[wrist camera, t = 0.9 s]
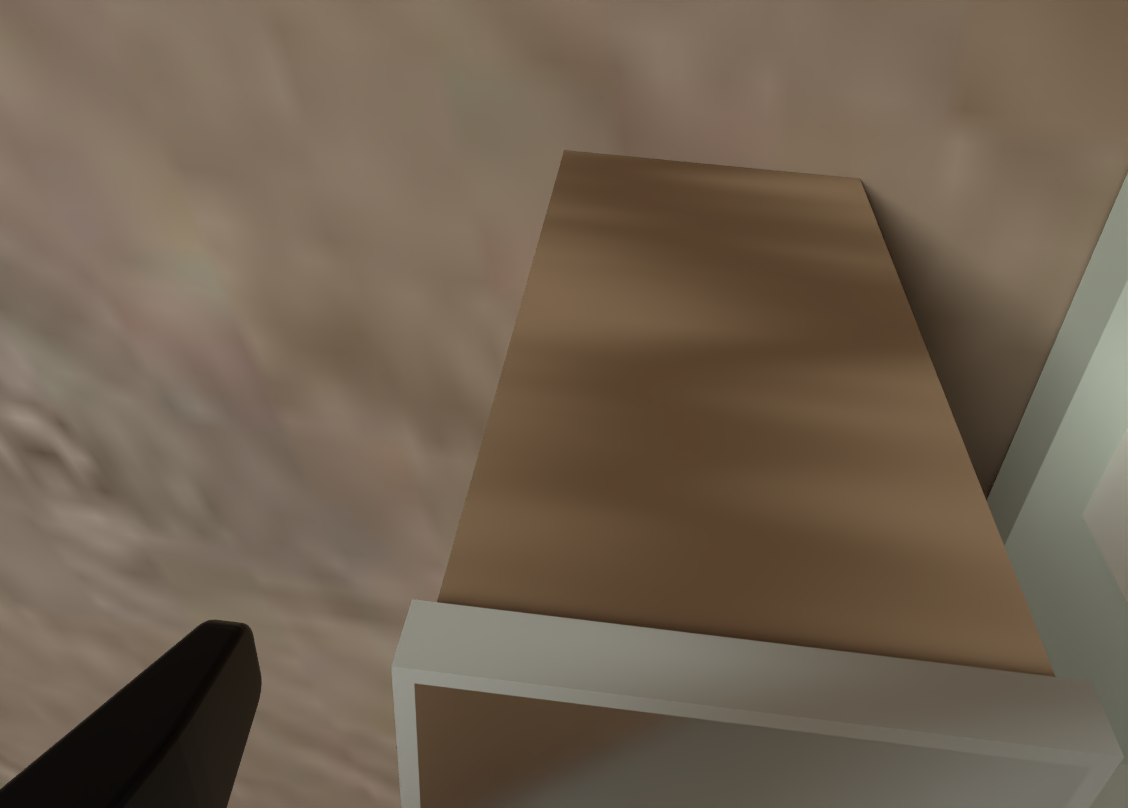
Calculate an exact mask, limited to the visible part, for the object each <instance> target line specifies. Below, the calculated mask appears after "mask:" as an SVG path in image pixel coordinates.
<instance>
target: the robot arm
mask: <svg viewBox="0 0 1128 808" xmlns="http://www.w3.org/2000/svg"><path fill="white" fill-rule="evenodd" d="M260 693H261V672H260V667H259V662H258V657H257V652H256V647H255V642H254V637H253V633H252V630H251V629H250V627H249V626H248V625H247V624H244V623H238V622H230V621H222V620H208V621H206V622H204V623H202V624H200V625H199V626H197V627H196V628H195V629H194V630H193V631H191V632H190V633H189V634H188V635H187V636H185V637H184V638H183V639H182V640H181V641H179V642H178V643H177V644H176V645H174V646H173V647H172V648H171V649H170V650H168V651H167V652H166V653H165V654H164V655H162V656H161V657H160V658H159V659H157V660H156V661H155V662H154V663H153V664H151V665H150V666H149V667H148V668H147V669H145V670H144V671H143V672H142V673H141V674H139V675H138V676H137V677H136V678H134V679H133V680H132V681H131V682H130V683H128V684H127V685H126V686H125V687H124V688H122V689H121V690H120V691H119V692H117V693H116V694H115V695H114V696H113V697H111V698H110V699H109V700H108V701H107V702H105V703H104V704H103V705H102V706H101V707H99V708H98V709H97V710H96V711H94V712H93V713H92V714H91V715H90V716H88V717H87V718H86V719H85V720H84V721H82V722H81V723H80V724H79V725H78V726H76V727H75V728H74V729H73V730H71V731H70V732H69V733H68V734H67V735H65V736H64V737H63V738H62V739H61V740H59V741H58V742H57V743H56V744H54V745H53V746H52V747H51V748H50V749H48V750H47V751H46V752H45V753H44V754H42V755H41V756H40V757H39V758H38V759H36V760H35V761H34V762H33V763H31V764H30V765H29V766H28V767H27V768H25V769H24V770H23V771H22V772H21V773H19V774H18V775H17V776H16V777H14V778H13V779H12V780H11V781H10V782H8V783H7V784H6V785H5V786H4V787H2V788H1V789H0V808H227V805H228V801H229V798H230V795H231V791H232V788H233V785H234V782H235V778H236V775H237V772H238V768H239V765H240V762H241V758H242V755H243V752H244V749H245V745H246V742H247V739H248V735H249V732H250V729H251V725H252V722H253V719H254V715H255V712H256V709H257V706H258V702H259V698H260Z"/></svg>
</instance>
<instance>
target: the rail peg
mask: <svg viewBox="0 0 1128 808" xmlns="http://www.w3.org/2000/svg"><path fill="white" fill-rule="evenodd" d="M391 668H392V682H393V696H394V710H395V724H396V738H397V752H398V766H399V781H400V795H401V808H1089V807H1090V806H1091V804H1092V803H1093V801H1094V800H1095V799H1096V797H1097V796H1098V794H1099V793H1100V791H1101V790H1102V788H1103V787H1104V785H1105V784H1106V783H1107V781H1108V780H1109V778H1110V777H1111V775H1112V774H1113V772H1114V771H1115V770H1116V768H1117V767H1118V765H1119V764H1120V762H1121V761H1122V759H1123V758H1124V756H1123V753H1122V751H1121V749H1120V746H1119V744H1118V742H1117V739H1116V737H1115V735H1114V732H1113V730H1112V728H1111V725H1110V723H1109V721H1108V718H1107V716H1106V714H1105V711H1104V709H1103V707H1102V704H1101V702H1100V700H1099V698H1098V695H1097V693H1096V691H1095V688H1094V686H1093V684H1092V681H1085V680H1077V679H1069V678H1060V677H1055V674H1054V671H1053V669H1052V666H1051V664H1050V661H1049V659H1048V656H1047V654H1046V651H1045V649H1044V646H1043V643H1042V641H1041V638H1040V636H1039V633H1038V631H1037V628H1036V626H1035V623H1034V621H1033V618H1032V615H1031V613H1030V610H1029V608H1028V605H1027V603H1026V600H1025V598H1024V595H1023V593H1022V590H1021V587H1020V585H1019V582H1018V580H1017V577H1016V575H1015V572H1014V570H1013V567H1012V565H1011V562H1010V559H1009V557H1008V554H1007V552H1006V549H1005V547H1004V544H1003V542H1002V539H1001V537H1000V534H999V531H998V529H997V526H996V524H995V521H994V519H993V516H992V514H991V511H990V509H989V506H988V503H987V501H986V498H985V496H984V493H983V491H982V488H981V486H980V483H979V481H978V478H977V475H976V473H975V470H974V468H973V465H972V463H971V460H970V458H969V455H968V453H967V450H966V447H965V445H964V442H963V440H962V437H961V435H960V432H959V430H958V427H957V425H956V422H955V419H954V417H953V414H952V412H951V409H950V407H949V404H948V402H947V399H946V397H945V394H944V391H943V389H942V386H941V384H940V381H939V379H938V376H937V374H936V371H935V369H934V366H933V363H932V361H931V358H930V356H929V353H928V351H927V348H926V346H925V343H924V341H923V338H922V335H921V333H920V330H919V328H918V325H917V323H916V320H915V318H914V315H913V313H912V310H911V307H910V305H909V302H908V300H907V297H906V295H905V292H904V290H903V287H902V285H901V282H900V280H899V277H898V274H897V272H896V269H895V267H894V264H893V262H892V259H891V257H890V254H889V252H888V249H887V246H886V244H885V241H884V239H883V236H882V234H881V231H880V229H879V226H878V224H877V221H876V218H875V216H874V213H873V211H872V208H871V206H870V203H869V201H868V198H867V196H866V193H865V190H864V188H863V185H862V183H861V180H860V179H855V178H844V177H834V176H824V175H813V174H803V173H793V172H783V171H772V170H762V169H752V168H741V167H731V166H721V165H710V164H700V163H690V162H679V161H669V160H659V159H649V158H638V157H628V156H618V155H607V154H597V153H587V152H576V151H566V150H564V153H563V157H562V160H561V164H560V167H559V171H558V174H557V178H556V182H555V185H554V189H553V192H552V196H551V199H550V203H549V206H548V210H547V213H546V217H545V221H544V224H543V228H542V231H541V235H540V238H539V242H538V245H537V249H536V253H535V256H534V260H533V263H532V267H531V270H530V274H529V277H528V281H527V285H526V288H525V292H524V295H523V299H522V302H521V306H520V309H519V313H518V316H517V320H516V324H515V327H514V331H513V334H512V338H511V341H510V345H509V348H508V352H507V356H506V359H505V363H504V366H503V370H502V373H501V377H500V380H499V384H498V388H497V391H496V395H495V398H494V402H493V405H492V409H491V412H490V416H489V419H488V423H487V427H486V430H485V434H484V437H483V441H482V444H481V448H480V451H479V455H478V459H477V462H476V466H475V469H474V473H473V476H472V480H471V483H470V487H469V491H468V494H467V498H466V501H465V505H464V508H463V512H462V515H461V519H460V522H459V526H458V530H457V533H456V537H455V540H454V544H453V547H452V551H451V554H450V558H449V562H448V565H447V569H446V572H445V576H444V579H443V583H442V586H441V590H440V594H439V597H438V601H437V602H430V601H421V600H413V599H412V602H411V605H410V608H409V611H408V615H407V618H406V621H405V624H404V627H403V631H402V634H401V637H400V640H399V643H398V647H397V650H396V653H395V656H394V660H393V663H392V666H391Z"/></svg>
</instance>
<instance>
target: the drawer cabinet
mask: <svg viewBox="0 0 1128 808" xmlns="http://www.w3.org/2000/svg"><path fill="white" fill-rule="evenodd" d="M987 503H988V506H989V509H990V511H991V514H992V516H993V519H994V521H995V524H996V526H997V529H998V531H999V534H1000V537H1001V539H1002V542H1003V544H1004V547H1005V549H1006V552H1007V554H1008V557H1009V559H1010V562H1011V565H1012V567H1013V570H1014V572H1015V575H1016V577H1017V580H1018V582H1019V585H1020V587H1021V590H1022V593H1023V595H1024V598H1025V600H1026V603H1027V605H1028V608H1029V610H1030V613H1031V615H1032V618H1033V621H1034V623H1035V626H1036V628H1037V631H1038V633H1039V636H1040V638H1041V641H1042V643H1043V646H1044V649H1045V651H1046V654H1047V656H1048V659H1049V661H1050V664H1051V666H1052V669H1053V671H1054V674H1055V677H1060V678H1069V679H1077V680H1085V681H1092V684H1093V686H1094V688H1095V691H1096V693H1097V695H1098V698H1099V700H1100V702H1101V704H1102V707H1103V709H1104V711H1105V714H1106V716H1107V718H1108V721H1109V723H1110V725H1111V728H1112V730H1113V732H1114V735H1115V737H1116V739H1117V742H1118V744H1119V746H1120V749H1121V751H1122V753H1123V756H1124V758H1123V759H1122V761H1121V762H1120V764H1119V765H1118V767H1117V768H1116V770H1115V771H1114V772H1113V774H1112V775H1111V777H1110V778H1109V780H1108V781H1107V783H1106V784H1105V785H1104V787H1103V788H1102V790H1101V791H1100V793H1099V794H1098V796H1097V797H1096V799H1095V800H1094V801H1093V803H1092V804H1091V806H1090V807H1089V808H1128V173H1127V175H1126V178H1125V180H1124V182H1123V185H1122V187H1121V189H1120V192H1119V194H1118V196H1117V199H1116V201H1115V203H1114V206H1113V208H1112V210H1111V213H1110V215H1109V217H1108V220H1107V222H1106V224H1105V227H1104V229H1103V231H1102V233H1101V236H1100V238H1099V240H1098V243H1097V245H1096V247H1095V250H1094V252H1093V254H1092V257H1091V259H1090V261H1089V264H1088V266H1087V268H1086V271H1085V273H1084V275H1083V278H1082V280H1081V282H1080V285H1079V287H1078V289H1077V292H1076V294H1075V296H1074V299H1073V301H1072V303H1071V306H1070V308H1069V310H1068V313H1067V315H1066V317H1065V319H1064V322H1063V324H1062V326H1061V329H1060V331H1059V333H1058V336H1057V338H1056V340H1055V343H1054V345H1053V347H1052V350H1051V352H1050V354H1049V357H1048V359H1047V361H1046V364H1045V366H1044V368H1043V371H1042V373H1041V375H1040V378H1039V380H1038V382H1037V385H1036V387H1035V389H1034V392H1033V394H1032V396H1031V398H1030V401H1029V403H1028V405H1027V408H1026V410H1025V412H1024V415H1023V417H1022V419H1021V422H1020V424H1019V426H1018V429H1017V431H1016V433H1015V436H1014V438H1013V440H1012V443H1011V445H1010V447H1009V450H1008V452H1007V454H1006V457H1005V459H1004V461H1003V464H1002V466H1001V468H1000V471H999V473H998V475H997V478H996V480H995V482H994V484H993V487H992V489H991V491H990V494H989V496H988V498H987Z"/></svg>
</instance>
